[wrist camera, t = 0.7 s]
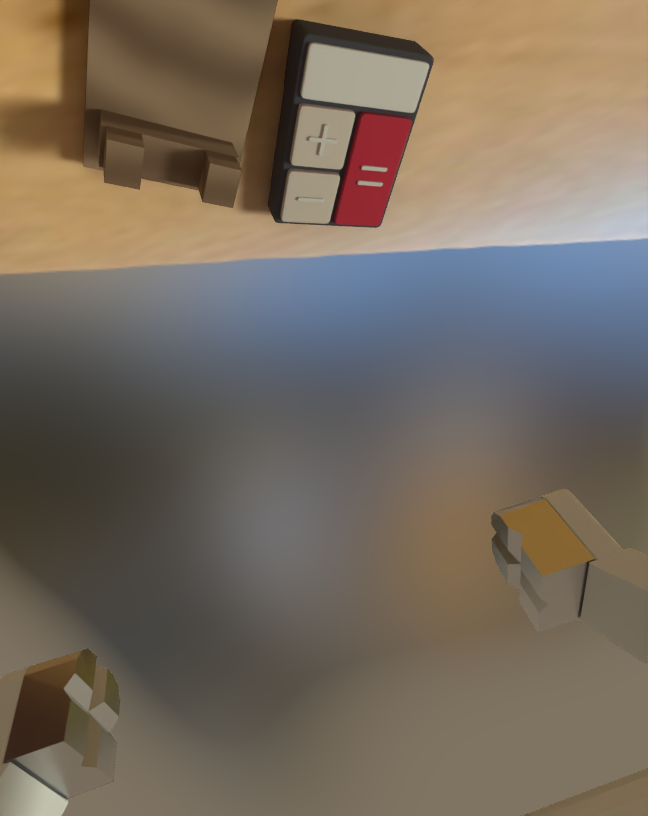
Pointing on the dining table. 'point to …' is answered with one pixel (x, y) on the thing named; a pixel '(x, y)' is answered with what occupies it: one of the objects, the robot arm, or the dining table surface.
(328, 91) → the calculator
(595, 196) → the dining table surface
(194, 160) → the rack
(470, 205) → the dining table surface
